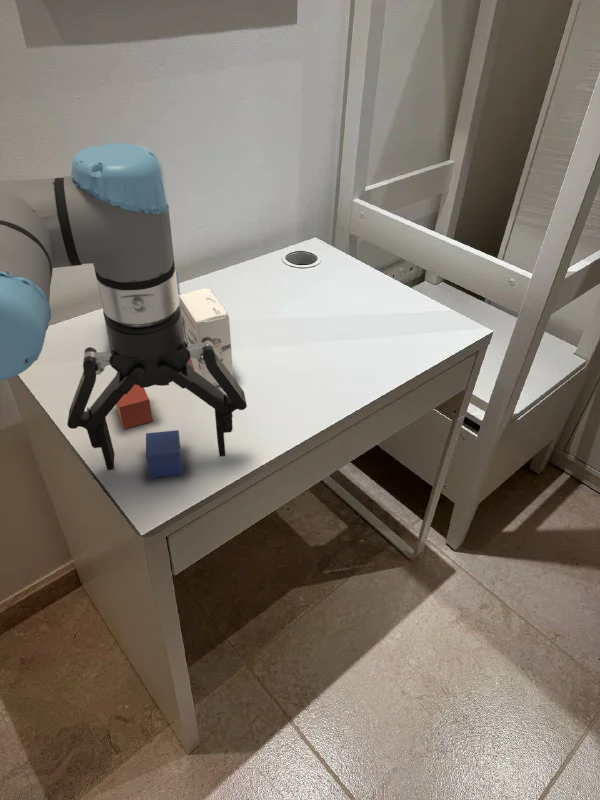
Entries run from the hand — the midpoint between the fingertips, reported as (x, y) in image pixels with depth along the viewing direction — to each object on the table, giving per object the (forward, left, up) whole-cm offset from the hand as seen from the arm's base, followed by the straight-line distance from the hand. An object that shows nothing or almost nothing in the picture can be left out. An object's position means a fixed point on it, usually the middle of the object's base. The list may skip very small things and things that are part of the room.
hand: (167, 455), depth 72 cm
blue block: (0, 0, -2) cm, 2 cm away
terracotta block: (-4, +10, -2) cm, 11 cm away
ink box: (+7, +19, -2) cm, 20 cm away
